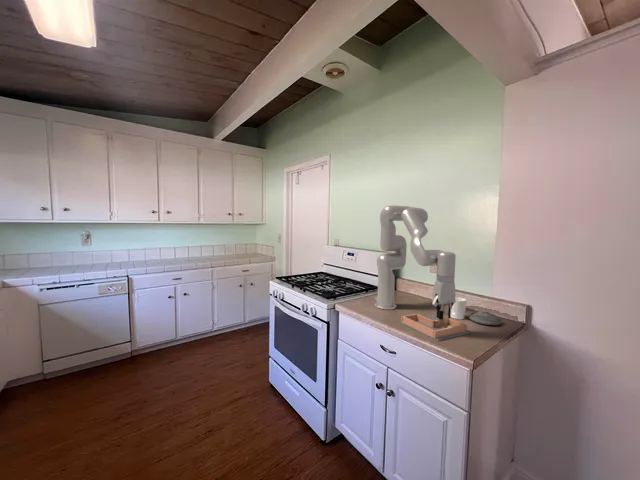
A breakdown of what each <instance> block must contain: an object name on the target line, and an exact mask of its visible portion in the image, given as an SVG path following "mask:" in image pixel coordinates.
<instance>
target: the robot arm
mask: <svg viewBox="0 0 640 480" xmlns="http://www.w3.org/2000/svg"><path fill="white" fill-rule="evenodd" d="M379 219H380V220H379V221H380V244H379V245H380V249H381V250H382V251H383V252H393V253H381V254H380V255H379V256H378V257H377V259H376V266H377V274H378V275H377V277H378V278H377V296H375V297H374V300H376V302H375V303H374V306H375V308H377V309H380V310H381V309H382V310H387V311H388V310H389V311H390V310H394V309H397V304H396V303H395V281H396V280H395V274H394V272H393V270H400V269H403V268H405V265H406V263H407V249H408V247H407V246H408V245H407V244H408V243H407V240H406V238H405V237H404V236H402V235H400V234H397V227H396V225H395V223H394V222H395V221H397V222H403V223H404V225H405V227H406V230H407V231H408V233H409V235H410V236H411V239H410V252H411V254H412V256H413V258H414V259H415V261H416V263H417V264H418V265H419V266H421V267H431V266H433V267H434V266H436V278H435V279H436V281H435V282H434V285H433V290H432V300H431V301H432V302H431V303H432V304H431V305H432V306H433V307H434V308H435V310H436V319H438V320H439V319H441V320H442V319H443V311H442V310H443V304H447V303H449V312H448V318H450V319H451V317H450V316H451V309H452V306H453V304H454V303H455V302H456V300H455V297H456V283H455V278H456V277H455V273H456V259H457V257H456V254H455V253H454V252H451V251H443V250H440V249H425V247H424V246H423V244H422V240H421V239H422V238H424V237H426V235H427V234H428V232H429V230H428V228H427V226H426V224H425V223H427V221H428V219H429V215H428V211H426V209H424V208H421V207H414V206H408V205H386V206H384V208H382V209H381V211H380V216H379ZM439 305H440V306H439Z"/></svg>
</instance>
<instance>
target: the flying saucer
mask: <svg viewBox="0 0 640 480" xmlns="http://www.w3.org/2000/svg"><path fill="white" fill-rule="evenodd" d="M468 319H470V321H473V322H475V323H477V324H482V325H486V326H498V325H502V323H503V320H502V319H501V318H500V317H499V316H497V315H496V314H494V313H491V312H490V311H485V310H480V311H474V312H471V313H470V314H469V315H468Z"/></svg>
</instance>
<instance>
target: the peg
mask: <svg viewBox="0 0 640 480" xmlns="http://www.w3.org/2000/svg"><path fill="white" fill-rule="evenodd" d="M439 306H440V305H439ZM442 311H443V319H442V320H441V319H439V318H438V320H439V321H438V326H439V327H441V328H447V327H448V312H449V303H447V304H443V310H442Z"/></svg>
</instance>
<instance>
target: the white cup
mask: <svg viewBox="0 0 640 480" xmlns="http://www.w3.org/2000/svg"><path fill="white" fill-rule="evenodd" d="M455 300H456V302H455V303H454V304H453V306H452V309H451V316H450V318H451V319H454V320H463V319H465V315H466V309H467V299H466V298H464V297H459V296H455Z"/></svg>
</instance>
